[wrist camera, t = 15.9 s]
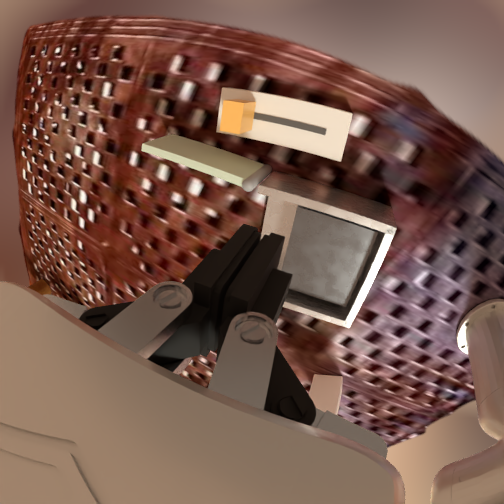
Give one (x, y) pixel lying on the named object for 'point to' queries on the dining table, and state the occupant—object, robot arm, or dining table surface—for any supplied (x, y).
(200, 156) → the door
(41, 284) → the disposable coffee cup
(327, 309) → the grey open tray
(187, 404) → the robot arm
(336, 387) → the milk
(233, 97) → the fader panel
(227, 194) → the dining table surface
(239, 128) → the fader knob
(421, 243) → the dining table surface
